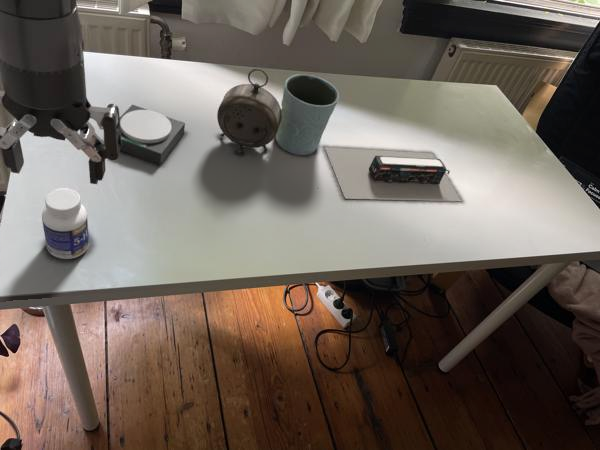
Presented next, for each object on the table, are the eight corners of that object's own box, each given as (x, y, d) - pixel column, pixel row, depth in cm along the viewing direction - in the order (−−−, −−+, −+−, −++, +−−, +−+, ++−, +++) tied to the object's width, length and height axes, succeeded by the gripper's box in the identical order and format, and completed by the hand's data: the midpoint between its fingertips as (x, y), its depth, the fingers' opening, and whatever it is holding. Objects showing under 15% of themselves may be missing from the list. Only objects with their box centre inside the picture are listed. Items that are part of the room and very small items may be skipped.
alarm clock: (274, 147, 93) (294, 71, 82) (267, 164, 89) (288, 87, 78) (218, 130, 93) (231, 51, 81) (210, 146, 89) (222, 65, 78)
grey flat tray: (461, 201, 97) (471, 185, 94) (345, 198, 88) (352, 181, 85) (431, 153, 106) (440, 138, 103) (324, 147, 97) (330, 130, 94)
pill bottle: (82, 263, 66) (77, 217, 59) (40, 256, 65) (31, 209, 59) (94, 234, 69) (91, 188, 63) (55, 227, 68) (48, 180, 62)
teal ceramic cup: (313, 127, 101) (329, 75, 93) (327, 159, 95) (347, 107, 87) (266, 125, 98) (279, 71, 89) (278, 158, 91) (293, 103, 83)
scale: (160, 164, 82) (161, 150, 80) (104, 145, 82) (103, 129, 80) (184, 133, 90) (185, 119, 87) (132, 115, 89) (132, 100, 87)
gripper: (-62, 51, 43) (-22, 187, 54) (110, 82, 46) (114, 204, 57) (-27, 14, 48) (2, 145, 59) (125, 44, 51) (126, 163, 62)
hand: (57, 174), depth 58 cm, fingers open, 8 cm apart
